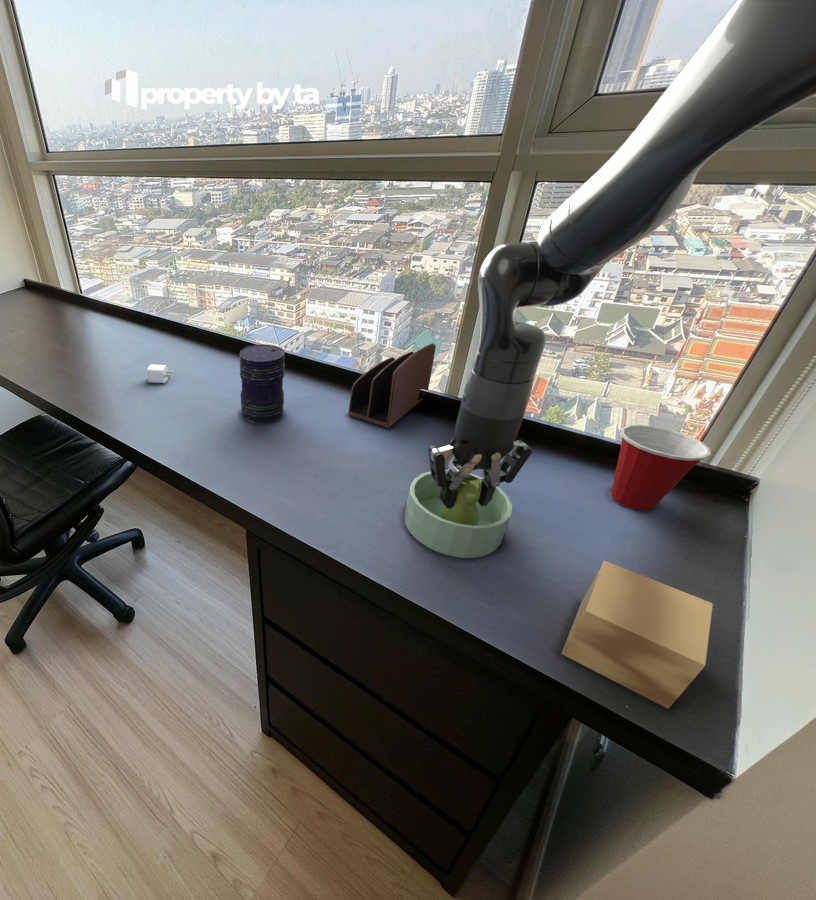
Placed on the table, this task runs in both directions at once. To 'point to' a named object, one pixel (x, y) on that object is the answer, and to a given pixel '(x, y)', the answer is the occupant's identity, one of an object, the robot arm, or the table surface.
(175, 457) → the table surface
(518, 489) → the table surface
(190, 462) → the table surface
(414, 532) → the pot
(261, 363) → the dark blue canister
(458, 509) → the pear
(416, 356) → the letter holder
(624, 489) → the plastic cup
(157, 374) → the usb wall charger
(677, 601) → the block
